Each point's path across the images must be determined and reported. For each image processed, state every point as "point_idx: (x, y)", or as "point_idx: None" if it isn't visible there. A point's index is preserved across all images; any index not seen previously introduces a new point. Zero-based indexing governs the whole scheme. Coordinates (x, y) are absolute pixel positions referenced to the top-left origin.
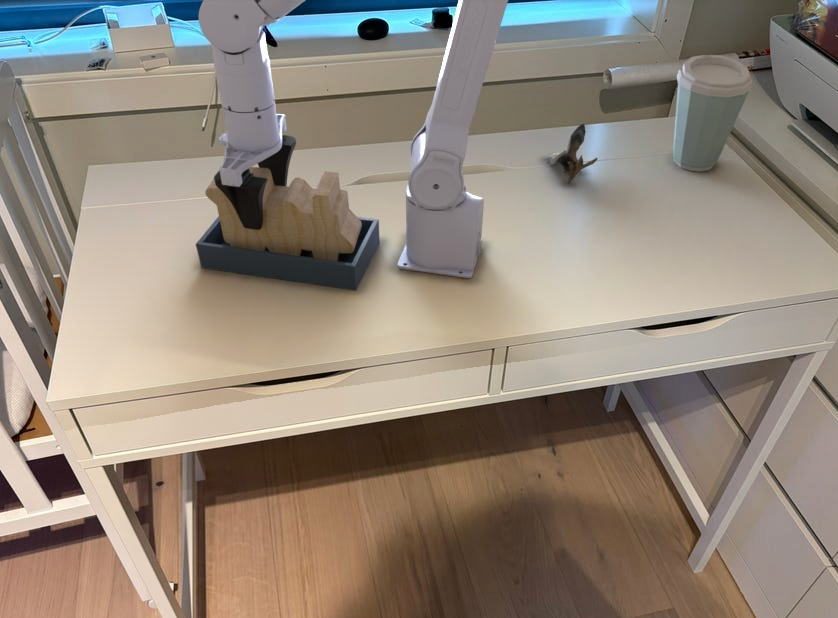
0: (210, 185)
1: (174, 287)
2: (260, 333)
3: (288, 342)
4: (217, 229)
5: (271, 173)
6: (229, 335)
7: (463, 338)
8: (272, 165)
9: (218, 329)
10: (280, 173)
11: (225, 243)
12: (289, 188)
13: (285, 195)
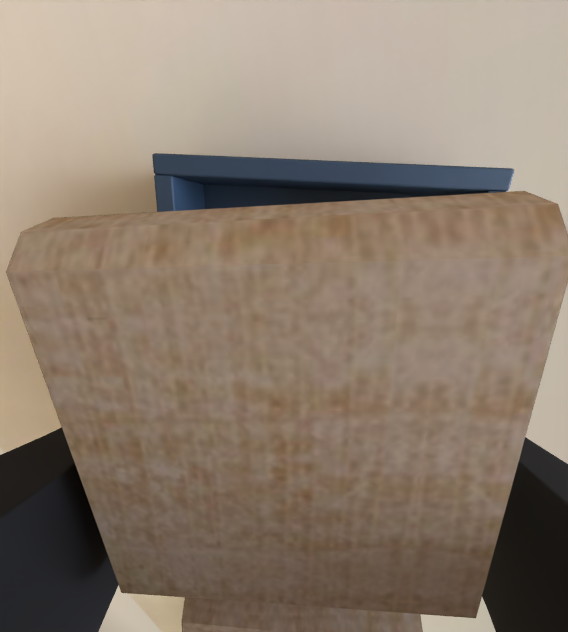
0: (59, 272)
1: (89, 128)
2: (37, 385)
3: (40, 432)
4: (301, 183)
5: (502, 529)
6: (4, 333)
7: (151, 617)
8: (545, 611)
9: (8, 306)
10: (490, 576)
11: (312, 201)
12: (318, 622)
13: (255, 608)
